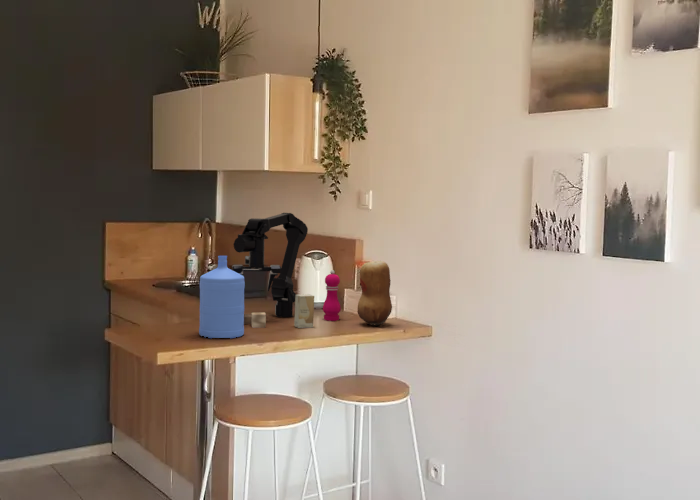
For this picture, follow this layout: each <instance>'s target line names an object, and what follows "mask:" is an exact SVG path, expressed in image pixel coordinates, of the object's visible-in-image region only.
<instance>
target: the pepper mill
mask: <svg viewBox="0 0 700 500" xmlns="http://www.w3.org/2000/svg"><path fill="white" fill-rule="evenodd" d="M340 282H341V279H340V277H339V275H337V274H336V273H335V270H333V269H332V270H330V272H329V274H327V275H326V276H325V278H324V284H325V285H326V286H325V290H326V298H325V300H324V302H323V305H322V312H323V313H324V315H323V320H324V321H328V322H337V320H338V321H340V312H341V309H342V308H341V304H340V301H339V298H338V290H339V286H338V285H339V284H340Z"/></svg>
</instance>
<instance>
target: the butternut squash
mask: <svg viewBox="0 0 700 500" xmlns="http://www.w3.org/2000/svg"><path fill="white" fill-rule="evenodd" d="M390 270H391V269H390V266H389V264H388V263H387V262H385V261H383V260H377V261H371V262H370V261H369V262H365V263H363V265H362V266H361V267H360V273H359V283H360V289H361V295H360V298H359V300H358V303H357V311H356V312H357V315H358V316H359V318H360V319H361V320H362V321H364V322H365V323H366V324H368V325H370V326H380V324H381V325H382V324H385V323H386V321H387V320H388V318H389V317H390V315H391V313H392V311H393V304H392V299H391V295H390V293H391V292H390V289H391V271H390Z"/></svg>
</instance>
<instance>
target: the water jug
mask: <svg viewBox="0 0 700 500" xmlns="http://www.w3.org/2000/svg"><path fill="white" fill-rule="evenodd" d="M227 259H228V255H218V256H217V267H216V268H214V269H212V270H210V271H208V272H206V273H204V274H202V275H201V276H200V277H199V328H198V334H199V336H201V337H202V336H204V337H203V338H206V337H208V338H207V339H212V338H230V339H235V338H236V337H237V338H240V337H242V336H243V335H244V334H245V326H244V325H245V324H244V314H245V291H244V288H245V289H246V285H245V284H246V283H245V275H244V276H242V275H240V274H239V273H237V272H235V271H233V270H232V269H230V267H229V268H228V260H227Z"/></svg>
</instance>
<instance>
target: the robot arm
mask: <svg viewBox="0 0 700 500" xmlns="http://www.w3.org/2000/svg"><path fill="white" fill-rule="evenodd" d="M278 226H279V227H280V226H282V227H283V229H284V230H285V231H286V232H285V237H286V240H287V244H286V247H285V252H284V255H283V259H282V264H281V265H280V264H270V266H265V240H269V236H267V235H266V233H267V232H269V231H270V230H271V229H272V228H275V227H278ZM308 231H309V228H308V226H307V224H306V223H305V222H304V221H302V220H301V219H299V218H298V217H297V216H295V214H294V213H292V212H281V213H279V214H275V215H271V216H269V217H265V218H260V217H259V218H257V217H256V218H255V217H254V218H249V219H248V221H247V223H246V224H245V227H244V229H243V231H242V233H239V234H237V237H236V238H235V240H234V241H233V249H234V251H235V252H236V253H240V254H241V253H247V252H248V253H249V254H248V255H245V256H244V265H245V266H244V265H243V264H233V265H231V268H232V269H231V270H233V271H235V272H237V273H239V274H240V275H242V276H244V277H245V275H244V272H269V273H268V282H267V292H269V291H270V293H271V295H272V297H271V298H272V299H273V301H275V302H276V304H274V305H275V310H274V313H275V316H276V317H277V318H293V317H294V314H293V306H294V303H295V298H296V295H297V294H296V292H295V291H294V283H293V279H292V278H293V273H294V269H295V264H296V261H297V258H298V257H297V256H298V252H299V250H300V249H299V248H300V246H301V244H302V243H303V242H304V241H305V240H306V238H307V235H308ZM247 265H248V266H247ZM276 276H277V277H276ZM270 288H271V289H270ZM244 292H246V287H245V288H244Z"/></svg>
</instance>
